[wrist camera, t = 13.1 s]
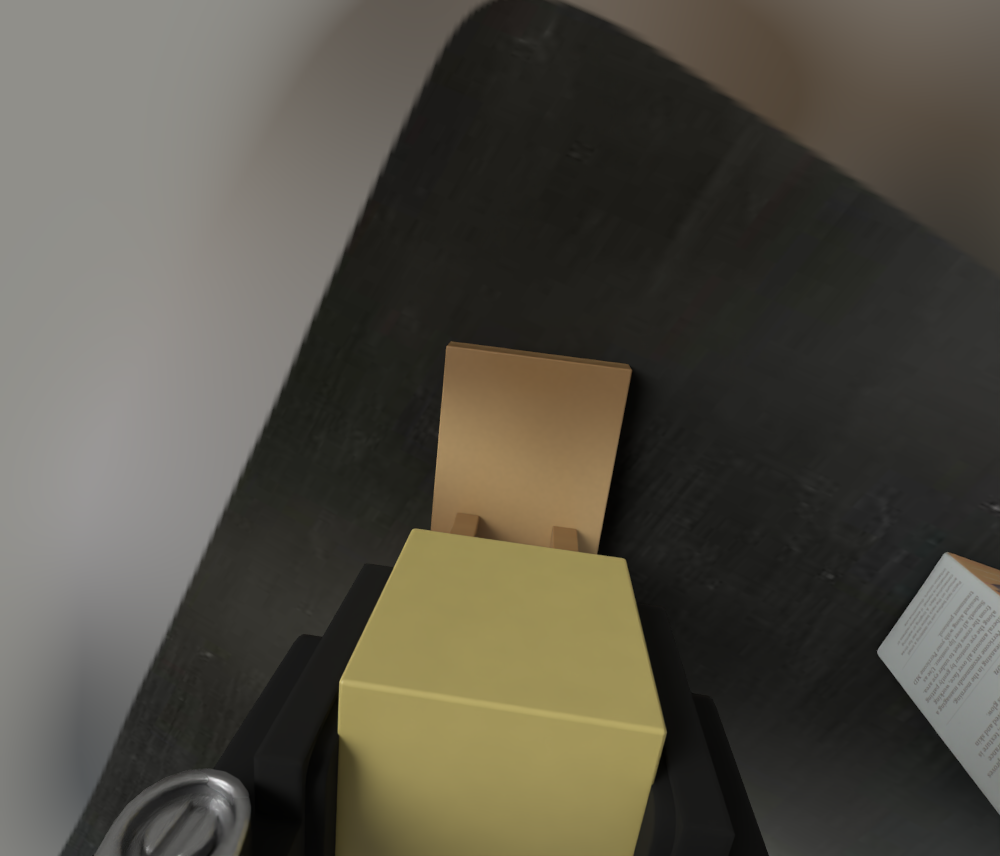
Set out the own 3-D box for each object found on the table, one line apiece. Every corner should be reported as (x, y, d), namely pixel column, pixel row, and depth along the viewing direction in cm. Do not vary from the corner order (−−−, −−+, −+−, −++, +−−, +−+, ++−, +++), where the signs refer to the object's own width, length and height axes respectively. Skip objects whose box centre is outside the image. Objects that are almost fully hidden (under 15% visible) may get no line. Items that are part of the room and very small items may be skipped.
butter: (582, 770, 11) (596, 1006, 7) (396, 740, 11) (328, 960, 8) (627, 557, 9) (668, 732, 6) (412, 526, 9) (336, 681, 6)
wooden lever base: (450, 340, 23) (381, 412, 13) (629, 364, 22) (684, 454, 13) (419, 704, 28) (355, 930, 19) (560, 726, 28) (565, 966, 19)
